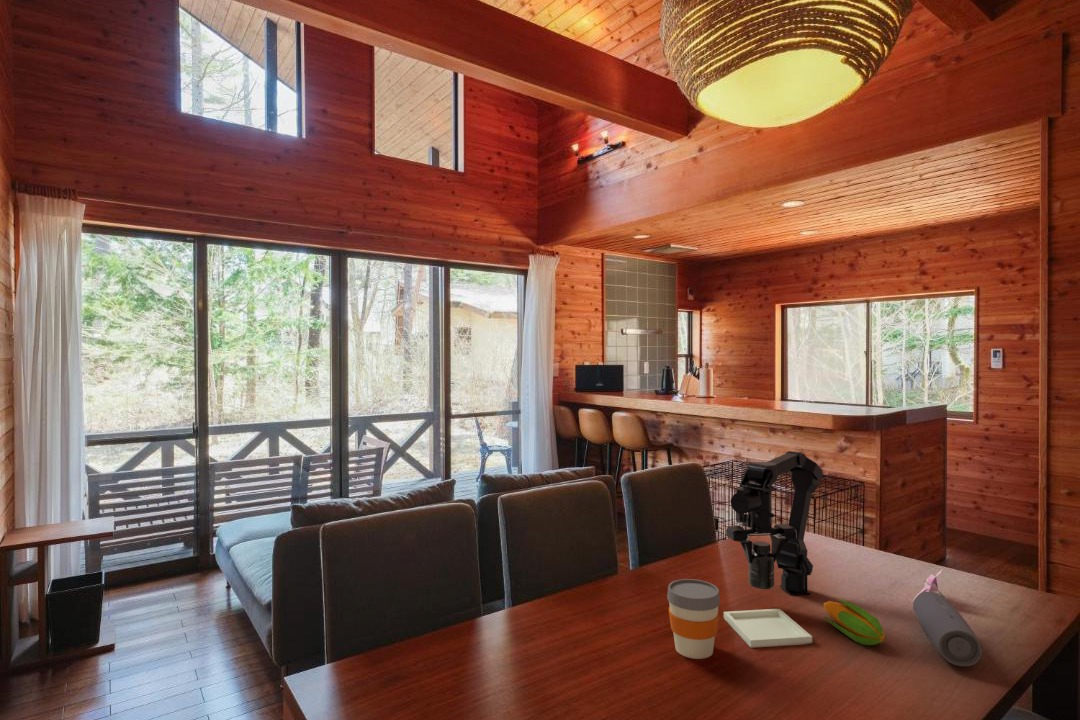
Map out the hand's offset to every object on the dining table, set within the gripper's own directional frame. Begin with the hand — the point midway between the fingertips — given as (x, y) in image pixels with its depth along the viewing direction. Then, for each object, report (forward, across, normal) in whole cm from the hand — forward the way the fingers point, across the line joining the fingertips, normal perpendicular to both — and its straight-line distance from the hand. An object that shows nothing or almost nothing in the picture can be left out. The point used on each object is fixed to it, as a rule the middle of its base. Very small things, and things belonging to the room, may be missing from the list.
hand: (761, 562), depth 165 cm
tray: (+13, +6, +14) cm, 20 cm away
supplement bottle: (+7, 0, 0) cm, 7 cm away
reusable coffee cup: (+13, +28, +21) cm, 37 cm away
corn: (+13, -15, +18) cm, 27 cm away
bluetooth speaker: (+13, -33, +28) cm, 45 cm away
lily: (+13, -50, +2) cm, 52 cm away
